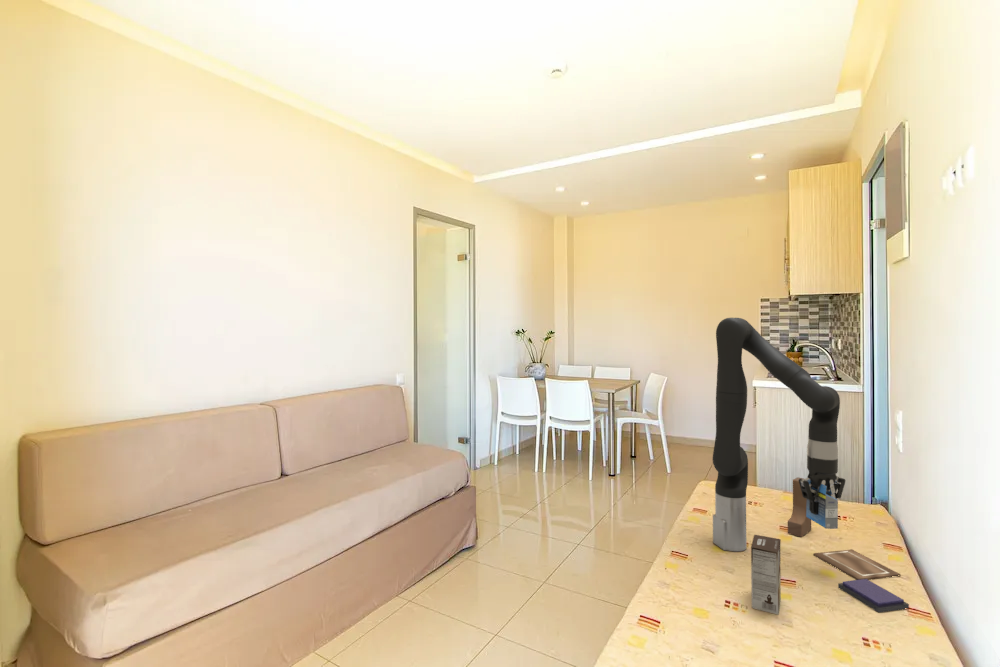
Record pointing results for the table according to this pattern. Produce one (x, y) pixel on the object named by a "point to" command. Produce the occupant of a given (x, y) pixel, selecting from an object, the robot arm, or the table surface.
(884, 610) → the ink pad
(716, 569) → the table surface
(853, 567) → the walnut board
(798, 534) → the wooden block
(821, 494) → the label tape box
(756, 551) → the coffee box
